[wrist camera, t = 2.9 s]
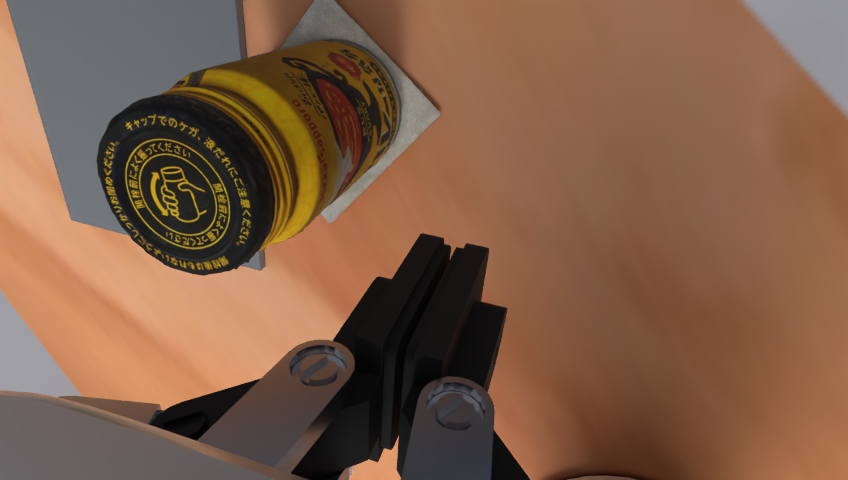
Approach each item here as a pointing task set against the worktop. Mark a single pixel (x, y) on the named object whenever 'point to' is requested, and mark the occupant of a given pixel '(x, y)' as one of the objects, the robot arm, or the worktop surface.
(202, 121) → the condiment
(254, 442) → the robot arm
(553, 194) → the worktop surface
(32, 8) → the mat
